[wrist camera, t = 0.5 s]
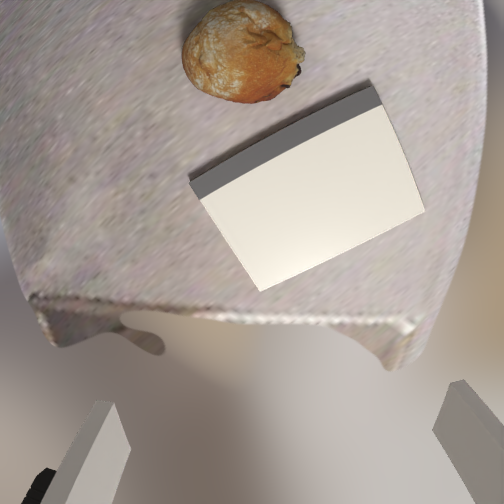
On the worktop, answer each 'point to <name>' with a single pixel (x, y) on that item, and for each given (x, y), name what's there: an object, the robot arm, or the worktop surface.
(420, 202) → the mat
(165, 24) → the worktop surface
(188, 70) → the bread roll
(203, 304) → the worktop surface
